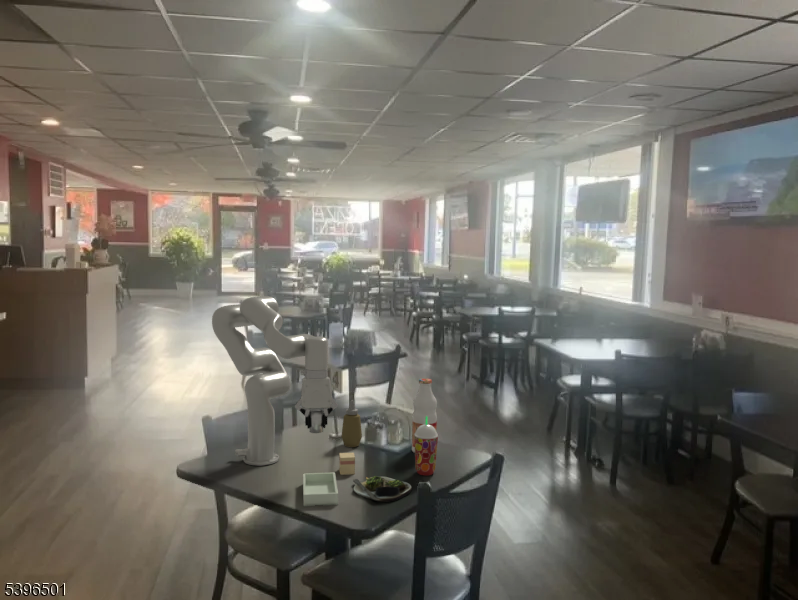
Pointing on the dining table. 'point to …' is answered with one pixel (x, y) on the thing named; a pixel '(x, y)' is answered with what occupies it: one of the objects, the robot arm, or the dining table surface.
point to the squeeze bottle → (351, 427)
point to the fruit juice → (424, 408)
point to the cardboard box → (346, 463)
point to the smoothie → (425, 449)
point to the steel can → (316, 421)
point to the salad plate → (382, 489)
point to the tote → (320, 489)
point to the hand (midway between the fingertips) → (316, 426)
